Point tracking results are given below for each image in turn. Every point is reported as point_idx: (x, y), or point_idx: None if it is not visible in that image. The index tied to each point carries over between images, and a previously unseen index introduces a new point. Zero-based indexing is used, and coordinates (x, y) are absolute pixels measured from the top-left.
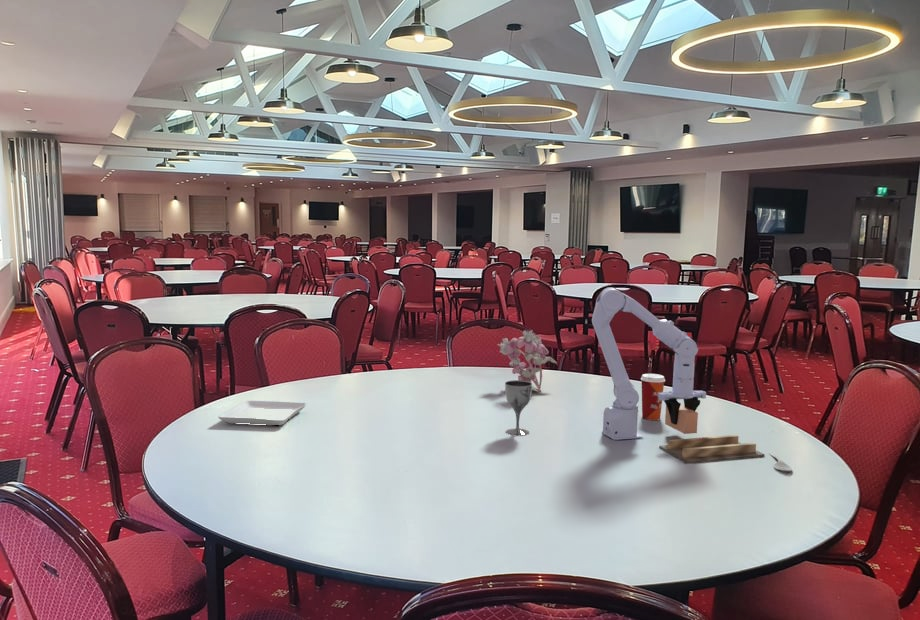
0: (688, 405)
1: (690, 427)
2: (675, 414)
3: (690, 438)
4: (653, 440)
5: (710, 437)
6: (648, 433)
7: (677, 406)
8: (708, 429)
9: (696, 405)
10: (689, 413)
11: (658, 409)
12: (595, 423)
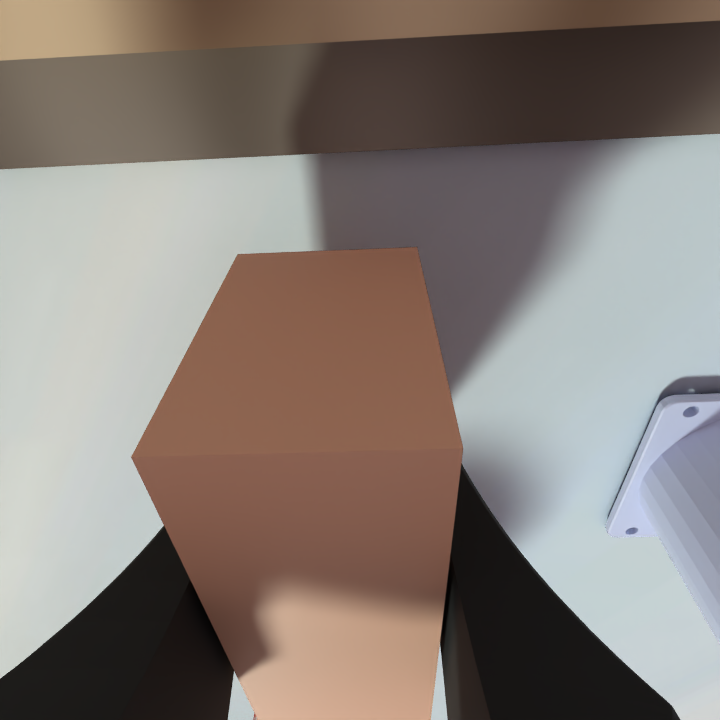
0: (198, 693)
1: (330, 286)
2: (494, 528)
3: (460, 31)
4: (617, 338)
5: (104, 19)
6: (520, 471)
7: (544, 671)
8: (24, 478)
9: (63, 675)
10: (358, 445)
11: None
12: (679, 620)
